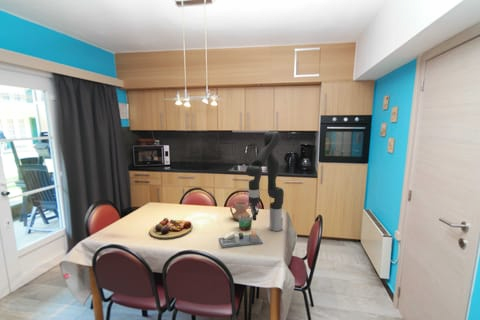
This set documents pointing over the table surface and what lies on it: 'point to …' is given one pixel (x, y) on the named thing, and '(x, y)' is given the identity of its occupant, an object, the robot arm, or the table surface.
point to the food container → (245, 222)
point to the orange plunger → (253, 234)
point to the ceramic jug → (240, 209)
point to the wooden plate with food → (171, 229)
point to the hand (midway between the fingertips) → (254, 220)
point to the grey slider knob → (236, 238)
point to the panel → (240, 241)
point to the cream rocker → (229, 235)
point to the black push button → (240, 235)
